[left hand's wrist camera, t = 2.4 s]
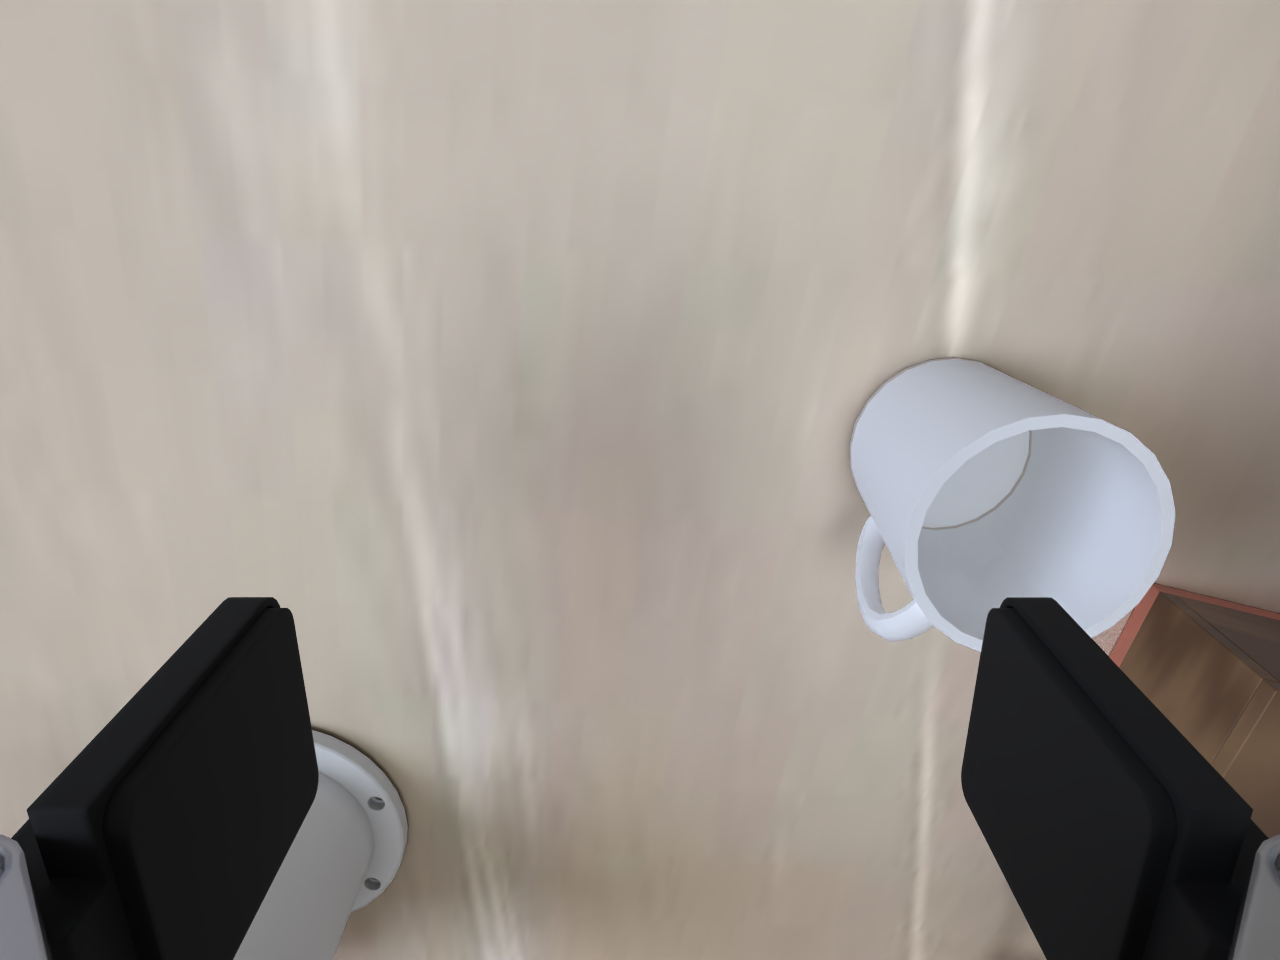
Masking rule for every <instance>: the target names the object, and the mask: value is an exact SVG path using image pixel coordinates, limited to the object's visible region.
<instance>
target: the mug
mask: <svg viewBox="0 0 1280 960" xmlns="http://www.w3.org/2000/svg"><path fill="white" fill-rule="evenodd" d="M850 468H851V471H852V474H853V478H854V481H855V484H856V487H857V489H858V491H859V492H860V494H861V496H862V498H863V500H864V502H865V504H866V506H867V508H868V510H869V512H870V514H871V516H870V517H869V518H868V519H867V521H866V523H865V525H864V527H863V530H862V532H861V534H860V538H859V543H858V548H857V554H856V575H855V583H856V591H857V600H858V606H859V608H860V611H861V613H862V616H863V619H864V621H865V623H866V625H867V626H868V628H869V630H871V631H873V632H874V633H876V634H878V635H879V636H881V637H883V638H884V639H886V640H888V641H890V642H892V641H899V640H906V639H912V638H914V637H916V636H918V635H920V634H922V633H924V632H925V631H927V630H929V629H930V628H931V627H932V626H933V625H934V626H935V627H936V628H937V629H939V630H940V631H941V632H943V633H944V634H945V635H947V636H948V637H949V638H950V639H952V640H953V641H954V642H957V643H959V644H962V645H964V646H967V647H969V648H972V649H974V650H977V651H979V652H981V649H982V643H983V637H984V631H985V625H986V619H987V615H988V613H989V611H990V610H991V609H992V608H1000V605H1001V604H1002V602H1003V600H1004V599H1006V598H1007V597H1049V598H1053V599H1054V600H1056V601H1057V602H1058V603H1059V604H1060V605H1061V607H1062V608H1063V609H1064V610H1065V611H1066V612H1067V613H1068V614H1069V615H1070V616H1071V617H1072V618H1073V619H1074V620H1075V621H1076V622H1077V623H1078V625H1079V626H1080V627H1081V628H1082V629H1083V630H1084V631H1085V632H1086V633H1087V634H1088V635H1089V636H1090V637H1091V638H1093V637H1095V636H1096V635H1098V634H1100V633H1102V632H1104V631H1105V630H1107V629H1109V628H1111V627H1112V626H1113V625H1115V624H1116V623H1117V622H1118V621H1119V620H1120V619H1121V618H1123V617H1124V616H1125V615H1126V614H1127V613H1128V612H1130V611H1131V610H1132V609H1133V608H1134V607H1135V606H1136V605H1138V604H1139V602H1140V601H1141V600H1142V598H1143V597H1144V596H1145V594H1146V593H1147V591H1148V590H1149V589H1150V587H1151V586H1152V585H1153V583H1154V582H1155V581H1156V579H1157V578H1158V576H1159V574H1160V572H1161V570H1162V567H1163V565H1164V562H1165V560H1166V558H1167V555H1168V553H1169V550H1170V548H1171V545H1172V538H1173V530H1174V522H1175V514H1176V513H1175V507H1174V502H1173V496H1172V491H1171V485H1170V481H1169V480H1168V478H1167V476H1166V474H1165V472H1164V471H1163V469H1162V467H1161V465H1160V463H1159V462H1158V460H1157V458H1156V456H1155V455H1154V454H1153V453H1152V452H1151V451H1150V450H1149V449H1148V448H1147V447H1146V446H1144V445H1143V444H1142V443H1141V442H1140V441H1139V440H1138V439H1137V438H1136V437H1135V436H1133V435H1132V434H1131V433H1130V432H1128V431H1126V430H1124V429H1122V428H1120V427H1118V426H1116V425H1113V424H1111V423H1109V422H1107V421H1105V420H1103V419H1101V418H1098V417H1096V416H1094V415H1092V414H1090V413H1088V412H1086V411H1083V410H1081V409H1079V408H1077V407H1075V406H1073V405H1071V404H1068V403H1066V402H1064V401H1062V400H1060V399H1058V398H1056V397H1053V396H1051V395H1049V394H1047V393H1045V392H1043V391H1041V390H1038V389H1036V388H1034V387H1032V386H1030V385H1028V384H1026V383H1023V382H1021V381H1019V380H1017V379H1015V378H1013V377H1011V376H1008V375H1006V374H1004V373H1002V372H1000V371H998V370H996V369H994V368H992V367H990V366H987V365H985V364H983V363H981V362H979V361H974V360H968V359H961V358H955V357H952V358H943V359H933V360H928V361H925V362H922V363H919V364H917V365H914V366H911V367H908V368H906V369H904V370H902V371H901V372H899V373H898V374H896V375H895V376H893V377H892V378H890V379H889V380H887V381H886V382H884V383H883V384H882V385H881V387H880V388H879V389H878V390H877V391H876V392H875V393H874V394H873V395H872V396H871V397H870V398H869V399H868V401H867V402H866V404H865V406H864V407H863V409H862V411H861V413H860V415H859V416H858V418H857V420H856V422H855V425H854V429H853V433H852V437H851V441H850ZM884 544H886V546H887V548H888V550H889V552H890V554H891V556H892V558H893V560H894V562H895V564H896V566H897V568H898V570H899V572H900V574H901V576H902V578H903V580H904V582H905V584H906V586H907V588H908V590H909V592H910V594H911V596H912V597H913V599H914V600H913V601H911V602H910V603H909V604H908V605H907V606H905V607H903V608H901V609H899V610H897V611H895V612H893V613H885V611H884V609H883V607H882V603H881V597H880V591H879V578H878V568H879V562H880V556H881V552H882V549H883V547H884Z"/></svg>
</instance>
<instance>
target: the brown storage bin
mask: <svg viewBox="0 0 1280 960" xmlns="http://www.w3.org/2000/svg"><path fill="white" fill-rule="evenodd" d="M1109 657H1110V658H1111V660H1112V661H1113V662H1114V663H1115V664H1116V665H1117V666H1118V667H1119V668H1120V669H1121V670H1122V671H1123V672H1124V673H1125V674H1126V675H1127V676H1128V678H1129V679H1130V680H1131V681H1132V682H1133V683H1134V684H1135V685H1136V686H1137V687H1138V688H1139V689H1140V690H1141V691H1142V692H1143V693H1144V694H1145V696H1146V697H1147V698H1148V699H1149V700H1150V701H1151V702H1152V703H1153V704H1154V705H1155V706H1156V707H1157V708H1158V709H1159V710H1160V711H1161V712H1162V714H1163V715H1164V716H1165V717H1166V718H1167V719H1168V720H1169V721H1170V722H1171V723H1172V724H1173V725H1174V726H1175V727H1176V728H1177V729H1178V730H1179V732H1180V733H1181V734H1182V735H1183V736H1184V737H1185V738H1186V739H1187V740H1188V741H1189V742H1190V743H1191V744H1192V745H1193V746H1194V747H1195V748H1196V750H1197V751H1198V752H1199V753H1200V754H1201V755H1202V756H1203V757H1204V758H1205V759H1206V760H1207V761H1208V762H1209V763H1210V764H1211V765H1212V766H1213V768H1214V769H1215V770H1216V771H1217V772H1218V773H1219V774H1220V775H1221V776H1222V777H1223V778H1224V779H1225V780H1226V781H1227V782H1228V783H1229V784H1230V786H1231V787H1232V788H1233V789H1234V790H1235V791H1236V792H1237V793H1238V794H1239V795H1240V796H1241V797H1242V798H1243V799H1244V800H1245V801H1246V802H1247V804H1248V805H1249V806H1250V807H1251V808H1252V809H1253V813H1252V816H1251V820H1252V821H1253V822H1254V823H1255V824H1256V825H1257V826H1258V827H1259V828H1260V829H1261V830H1262V832H1263V833H1264V834H1265V835H1266V836H1267V837H1268V838H1272V837H1274V836H1276V835H1280V614H1278V613H1274V612H1270V611H1266V610H1262V609H1258V608H1254V607H1250V606H1245V605H1241V604H1237V603H1233V602H1229V601H1225V600H1221V599H1217V598H1212V597H1208V596H1204V595H1200V594H1196V593H1192V592H1188V591H1184V590H1179V589H1175V588H1171V587H1167V586H1163V585H1159V584H1155V583H1153V585H1152V586H1151V587H1150V589H1149V590H1148V591H1147V593H1146V594H1145V596H1144V597H1143V598H1142V600H1141V601H1140V602H1139V604H1138V605H1136V607H1135V609H1134V611H1133V612H1132V614H1131V616H1130V618H1129V620H1128V622H1127V624H1126V626H1125V628H1124V629H1123V631H1122V633H1121V635H1120V637H1119V639H1118V641H1117V643H1116V645H1115V647H1114V648H1113V650H1112V652H1111V654H1110V656H1109Z"/></svg>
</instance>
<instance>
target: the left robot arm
mask: <svg viewBox="0 0 1280 960" xmlns="http://www.w3.org/2000/svg"><path fill="white" fill-rule="evenodd" d="M961 781H962V789H963V793H964V797H965V799H966V802H967V804H968V806H969V808H970V810H971V812H972V813H973V815H974V817H975V819H976V821H977V823H978V825H979V827H980V829H981V831H982V833H983V835H984V837H985V839H986V841H987V843H988V845H989V847H990V849H991V851H992V853H993V855H994V857H995V859H996V861H997V863H998V865H999V867H1000V869H1001V870H1002V872H1003V874H1004V876H1005V878H1006V880H1007V882H1008V884H1009V886H1010V888H1011V890H1012V892H1013V894H1014V896H1015V898H1016V900H1017V902H1018V904H1019V906H1020V908H1021V910H1022V912H1023V914H1024V916H1025V918H1026V920H1027V922H1028V924H1029V925H1030V927H1031V929H1032V931H1033V933H1034V935H1035V937H1036V939H1037V941H1038V943H1039V945H1040V947H1041V949H1042V951H1043V953H1044V955H1045V957H1046V959H1047V960H1280V835H1276V836H1274V837H1272V838H1268V837H1267V836H1266V835H1265V834H1264V833H1263V832H1262V830H1261V829H1260V828H1259V827H1258V826H1257V825H1256V824H1255V823H1254V822H1253V821H1252V820H1251V816H1252V813H1253V809H1252V808H1251V807H1250V806H1249V805H1248V804H1247V802H1246V801H1245V800H1244V799H1243V798H1242V797H1241V796H1240V795H1239V794H1238V793H1237V792H1236V791H1235V790H1234V789H1233V788H1232V787H1231V786H1230V784H1229V783H1228V782H1227V781H1226V780H1225V779H1224V778H1223V777H1222V776H1221V775H1220V774H1219V773H1218V772H1217V771H1216V770H1215V769H1214V768H1213V766H1212V765H1211V764H1210V763H1209V762H1208V761H1207V760H1206V759H1205V758H1204V757H1203V756H1202V755H1201V754H1200V753H1199V752H1198V751H1197V750H1196V748H1195V747H1194V746H1193V745H1192V744H1191V743H1190V742H1189V741H1188V740H1187V739H1186V738H1185V737H1184V736H1183V735H1182V734H1181V733H1180V732H1179V730H1178V729H1177V728H1176V727H1175V726H1174V725H1173V724H1172V723H1171V722H1170V721H1169V720H1168V719H1167V718H1166V717H1165V716H1164V715H1163V714H1162V712H1161V711H1160V710H1159V709H1158V708H1157V707H1156V706H1155V705H1154V704H1153V703H1152V702H1151V701H1150V700H1149V699H1148V698H1147V697H1146V696H1145V694H1144V693H1143V692H1142V691H1141V690H1140V689H1139V688H1138V687H1137V686H1136V685H1135V684H1134V683H1133V682H1132V681H1131V680H1130V679H1129V678H1128V676H1127V675H1126V674H1125V673H1124V672H1123V671H1122V670H1121V669H1120V668H1119V667H1118V666H1117V665H1116V664H1115V663H1114V662H1113V661H1112V660H1111V658H1110V657H1109V656H1108V655H1107V654H1106V653H1105V652H1104V651H1103V650H1102V649H1101V648H1100V647H1099V646H1098V645H1097V644H1096V643H1095V641H1094V640H1093V639H1092V638H1091V637H1090V636H1089V635H1088V634H1087V633H1086V632H1085V631H1084V630H1083V629H1082V628H1081V627H1080V626H1079V625H1078V623H1077V622H1076V621H1075V620H1074V619H1073V618H1072V617H1071V616H1070V615H1069V614H1068V613H1067V612H1066V611H1065V610H1064V609H1063V608H1062V607H1061V605H1060V604H1059V603H1058V602H1057V601H1056V600H1054V599H1053V598H1049V597H1007V598H1006V599H1004V600H1003V602H1002V604H1001V605H1000V608H992V609H991V610H990V611H989V613H988V615H987V619H986V625H985V631H984V637H983V643H982V649H981V655H980V661H979V667H978V673H977V679H976V686H975V692H974V698H973V704H972V710H971V716H970V722H969V728H968V734H967V740H966V747H965V753H964V759H963V765H962V772H961ZM27 813H28V816H29V820H28V821H27V822H26V823H25V824H24V825H23V826H22V827H21V828H20V829H19V830H18V832H17V833H16V834H15V835H14V836H13V837H12V838H8V837H6V836H4V835H0V960H333V957H334V955H335V952H336V949H337V947H338V944H339V942H340V939H341V936H342V934H343V931H344V929H345V926H346V923H347V921H348V918H349V916H350V913H352V912H354V911H356V910H358V909H360V908H362V907H364V906H366V905H368V904H369V903H370V902H372V901H373V900H374V899H375V898H377V897H378V896H379V895H380V894H382V893H383V891H384V890H385V889H386V888H387V887H388V885H389V884H390V883H391V882H392V880H393V879H394V877H395V875H396V873H397V870H398V868H399V866H400V864H401V861H402V858H403V854H404V851H405V848H406V845H407V831H408V825H407V820H406V814H405V809H404V806H403V804H402V802H401V799H400V797H399V795H398V792H397V791H396V789H395V788H394V786H393V785H392V783H391V782H390V780H389V779H388V777H387V776H386V775H385V774H384V773H383V772H382V771H381V770H380V769H379V768H378V767H377V766H376V765H375V764H374V763H373V762H372V761H371V760H370V759H369V758H368V757H366V756H365V755H363V754H362V753H361V752H359V751H358V750H356V749H355V748H354V747H352V746H350V745H348V744H346V743H344V742H342V741H340V740H338V739H336V738H334V737H332V736H330V735H327V734H324V733H320V732H317V731H314V730H312V728H311V722H310V716H309V710H308V704H307V698H306V692H305V686H304V679H303V673H302V667H301V661H300V655H299V649H298V643H297V637H296V631H295V625H294V619H293V615H292V613H291V611H290V610H289V609H288V608H280V605H279V604H278V602H277V600H276V599H274V598H273V597H231V598H227V599H226V600H224V601H223V602H222V603H221V604H220V605H219V607H218V608H217V609H216V610H215V611H214V612H213V613H212V614H211V615H210V616H209V617H208V618H207V619H206V620H205V621H204V622H203V623H202V625H201V626H200V627H199V628H198V629H197V630H196V631H195V632H194V633H193V634H192V635H191V636H190V637H189V638H188V639H187V640H186V641H185V643H184V644H183V645H182V646H181V647H180V648H179V649H178V650H177V651H176V652H175V653H174V654H173V655H172V656H171V657H170V658H169V660H168V661H167V662H166V663H165V664H164V665H163V666H162V667H161V668H160V669H159V670H158V671H157V672H156V673H155V674H154V675H153V676H152V678H151V679H150V680H149V681H148V682H147V683H146V684H145V685H144V686H143V687H142V688H141V689H140V690H139V691H138V692H137V693H136V694H135V696H134V697H133V698H132V699H131V700H130V701H129V702H128V703H127V704H126V705H125V706H124V707H123V708H122V709H121V710H120V711H119V712H118V714H117V715H116V716H115V717H114V718H113V719H112V720H111V721H110V722H109V723H108V724H107V725H106V726H105V727H104V728H103V729H102V730H101V732H100V733H99V734H98V735H97V736H96V737H95V738H94V739H93V740H92V741H91V742H90V743H89V744H88V745H87V746H86V747H85V748H84V750H83V751H82V752H81V753H80V754H79V755H78V756H77V757H76V758H75V759H74V760H73V761H72V762H71V763H70V764H69V765H68V766H67V768H66V769H65V770H64V771H63V772H62V773H61V774H60V775H59V776H58V777H57V778H56V779H55V780H54V781H53V782H52V783H51V784H50V786H49V787H48V788H47V789H46V790H45V791H44V792H43V793H42V794H41V795H40V796H39V797H38V798H37V799H36V800H35V801H34V802H33V804H32V805H31V806H30V807H29V808H28V809H27Z"/></svg>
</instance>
